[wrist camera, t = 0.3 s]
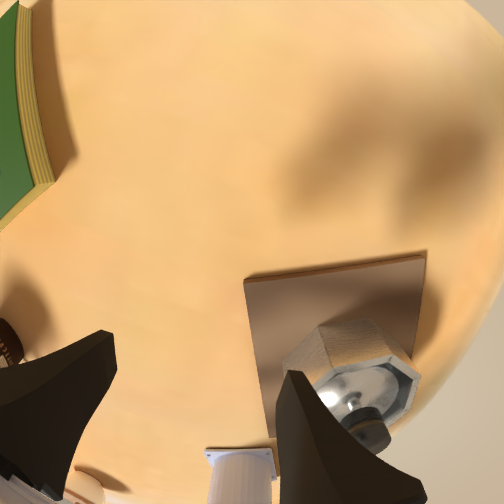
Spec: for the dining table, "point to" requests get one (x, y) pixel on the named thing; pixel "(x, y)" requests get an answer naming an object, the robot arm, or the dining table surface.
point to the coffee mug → (9, 346)
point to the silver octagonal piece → (355, 358)
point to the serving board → (328, 311)
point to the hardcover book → (19, 119)
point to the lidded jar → (83, 489)
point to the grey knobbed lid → (362, 403)
